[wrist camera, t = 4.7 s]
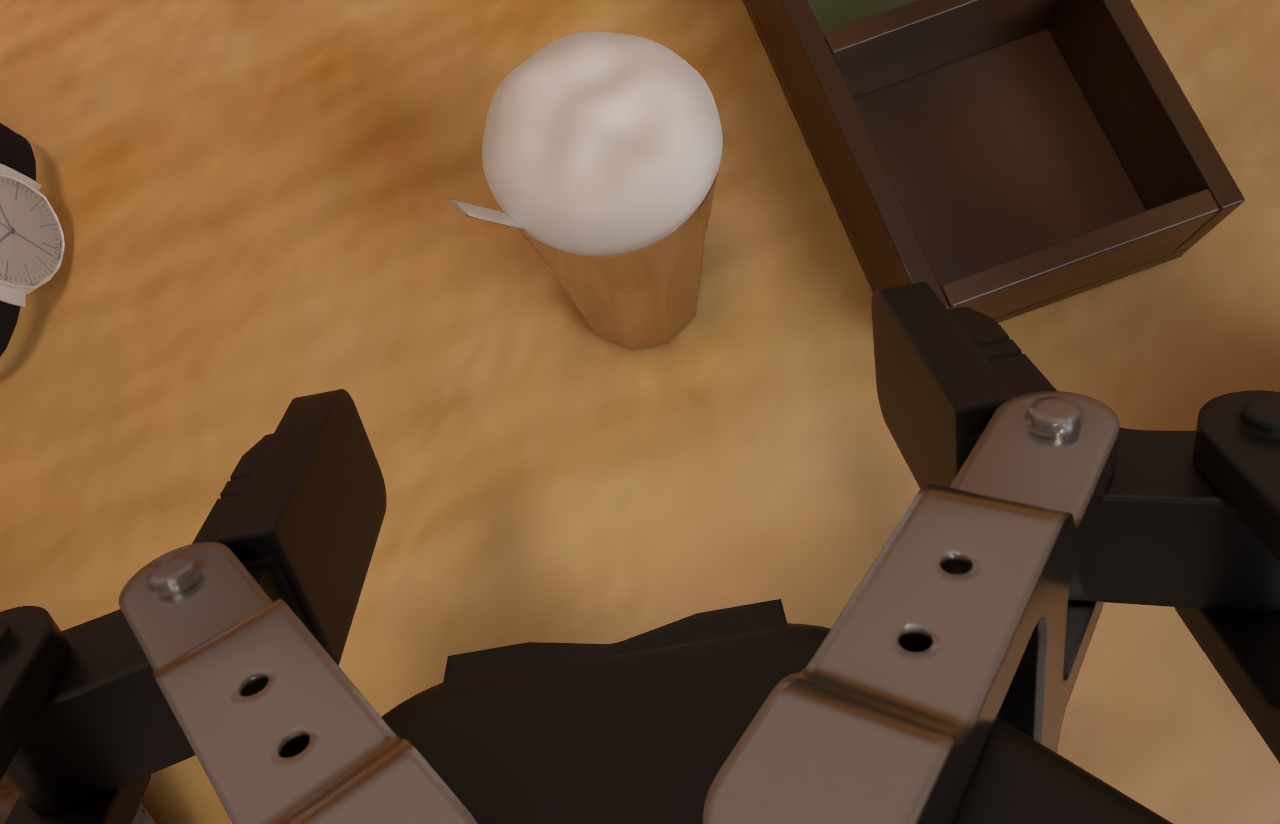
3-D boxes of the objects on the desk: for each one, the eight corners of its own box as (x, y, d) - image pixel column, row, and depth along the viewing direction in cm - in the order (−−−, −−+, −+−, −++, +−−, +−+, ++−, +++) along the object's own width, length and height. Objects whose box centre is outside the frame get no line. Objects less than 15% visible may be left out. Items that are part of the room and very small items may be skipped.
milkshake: (502, 319, 26) (366, 125, 16) (638, 185, 26) (585, -81, 17) (620, 430, 25) (549, 293, 15) (759, 288, 25) (778, 68, 16)
